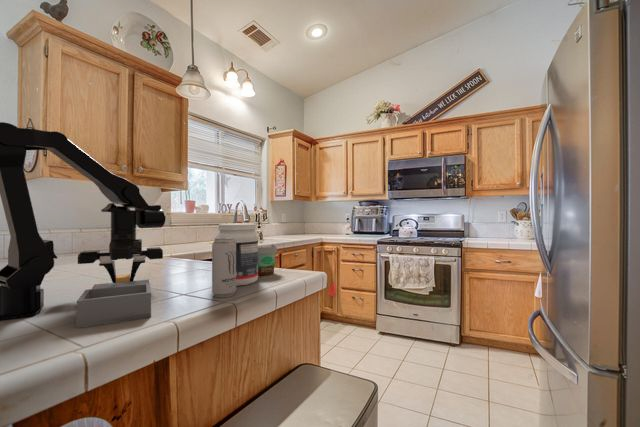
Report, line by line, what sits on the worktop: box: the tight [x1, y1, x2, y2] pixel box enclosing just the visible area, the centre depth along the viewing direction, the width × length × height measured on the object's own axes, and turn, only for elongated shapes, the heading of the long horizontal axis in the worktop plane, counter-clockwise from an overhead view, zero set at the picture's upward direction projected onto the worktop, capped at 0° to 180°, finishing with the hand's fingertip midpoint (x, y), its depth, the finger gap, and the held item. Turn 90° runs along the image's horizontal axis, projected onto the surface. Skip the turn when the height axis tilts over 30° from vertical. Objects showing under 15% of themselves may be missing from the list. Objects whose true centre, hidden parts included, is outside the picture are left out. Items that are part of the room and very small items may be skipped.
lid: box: [91, 273, 150, 289], centre depth 76 cm, size 12×14×3 cm
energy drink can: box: [211, 237, 237, 298], centre depth 79 cm, size 6×6×15 cm
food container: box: [258, 244, 278, 277], centre depth 106 cm, size 12×6×10 cm, turn 143°
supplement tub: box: [215, 222, 259, 287], centre depth 94 cm, size 13×13×18 cm
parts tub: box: [76, 282, 152, 329], centre depth 63 cm, size 12×10×5 cm
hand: (123, 286), depth 81 cm, fingers closed on lid, 3 cm apart
